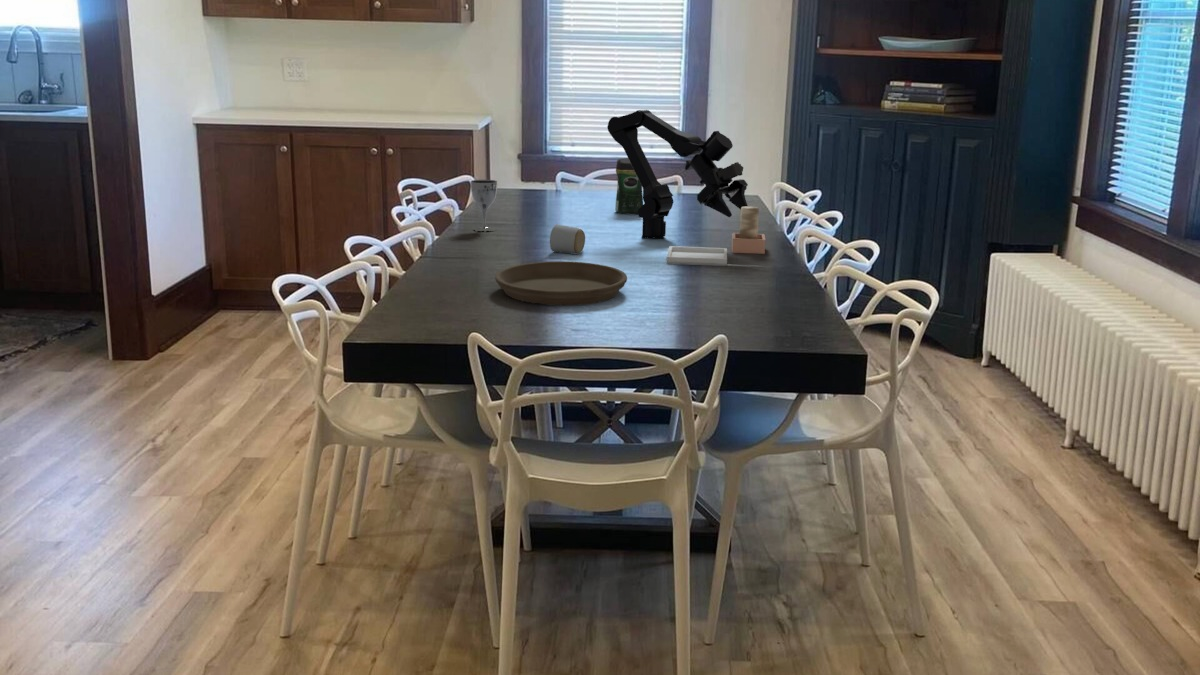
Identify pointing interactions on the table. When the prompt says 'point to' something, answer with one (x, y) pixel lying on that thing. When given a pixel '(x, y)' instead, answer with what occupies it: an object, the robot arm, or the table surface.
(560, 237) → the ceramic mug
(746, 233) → the beech cylinder
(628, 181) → the coffee jar
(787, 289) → the table surface
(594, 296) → the plant saucer
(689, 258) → the grey tray
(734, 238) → the cup holder
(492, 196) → the wine glass
